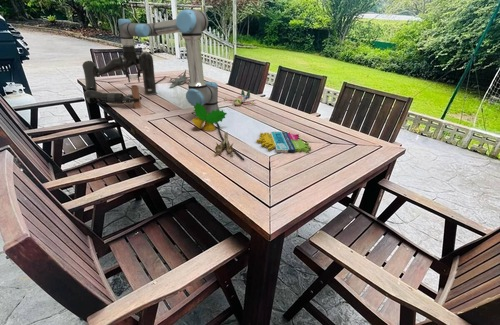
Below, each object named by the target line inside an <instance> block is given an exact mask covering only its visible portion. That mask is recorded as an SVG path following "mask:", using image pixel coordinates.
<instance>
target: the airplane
mask: <svg viewBox="0 0 500 325" xmlns="http://www.w3.org/2000/svg"><path fill="white" fill-rule="evenodd" d="M178 77H179V78H178ZM178 77H169V76H166V77H165V79H169V82H171V81H173V82H172V83H171V84H170V86H169V88H174V87H176V86H178V85H183V84H185V83H188V84H189V83H190V76H187V69H185V70H184V72H183V74H182V75H178Z"/></svg>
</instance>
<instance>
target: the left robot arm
mask: <svg viewBox="0 0 500 325" xmlns="http://www.w3.org/2000/svg"><path fill="white" fill-rule="evenodd" d="M136 54H137V55H139V56H141V65H142V70H143V71H141V73H142V80H143V88H144V89H143V90H144V94H145V95H146V96H155V95H157V86H156V84H158V83H160V82H161V81H163V80H165V79H166V77H167V76H164V77H163V78H161V79H159V80H158V81H156V77H155V66H154V58H153V55H152V54H151V53H150V52H148V51H143V52H140V53H136ZM135 61H136V63H137V65H140V64H139V59H138V58H137V57H136V58H135ZM81 66H82V70H83V74H84V80H85V91H84V93H83V95H84V96H83V97H85V99H86V101H87V103H88V104H89V105H93V106H94V105H95V106H96V105H98V103H99V101H100V103H103V104H115V105H123V104H133V102H139V99H133V97H132V94H126V95H124V93H123V92H102V91H98V85H97V80H96V77H100V76H103V75H106V74H110V73H114V72H118V71H122V67H121V60H120V58H119V57H114V58H112V59H110V60H109V61H108V62H107V63H106V64H105V65H104V66H101V67H98V66H97V65H96V63H95V62H94V61H93V60H86V61H84V62H82V65H81ZM123 66H124V70H125V68H126V59H125V57H123ZM134 66H135V64H134V62H133V61H128V68H127V69H130V68H132V67H134ZM142 98H143V97H142V96H140V101H142V100H143V99H142Z"/></svg>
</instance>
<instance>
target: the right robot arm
mask: <svg viewBox="0 0 500 325" xmlns="http://www.w3.org/2000/svg"><path fill="white" fill-rule="evenodd" d="M117 23H118V29H119V30H118V31H119V35H120V41H121V42H120V43H121V45H122V52H123V53H122V54H121V55H119V56H118V58H120V60H121V67H122V70H121V71H122V72H124V73H125V74H124V75H125V78H127V80H128V83H131V79H130V78H129V75H130V73H129V71H128V69H129V68H128V61H133V62H134V64H135V65H134V66H135V69H136V70H137V71H136V75H138V78H137V81H138V83H140V82H141V81H140V78H141V77H142V76H141V73H142V71H143V70H142V65H141V56H139V55H137V54H138V53H137V52H136V47H135V39H134V37H136V38H137V37H138V38H147V37H158V36H164V35H169V34H170V35H171V34H177V33H181V37H182V39H184V43H185V51H186V60H187V67H188V75H189V76H188V77H190V78H189V79H190V82H189V83H188V84H187V87H188V89H187V91H186V93H185V98H186V101H187V102H188V104H190V106H192V107H194V106H196V102H197V103H198V104H201V106H204V109H206V112H208V113H211V112H212V110H214V111H216V110H217V109H219V111H221V110H220V108H219V102H218V99H219V98H218V97H219V87H218V83H217V82H216V81H215V82H214V81H206V80H205V79H204V67H203V57H202V47H201V46H202V45H201V38H202V37H203V32H205V31H206V30H207V28H208V26H209V18H208V16H207V14H206V13H204V11H202V10H198V9H197V10H196V9H188V8H187V9H182V10H180V11H179V12H178V14H177V16H176V18H175V19H169V20H163V21H157V22H151V23H140V22H139V23H138V22H137V23H136V22H132V21H131V19H130V18H119V19H117ZM123 57H125V59H126V68H125V69H124V66H123ZM136 57H137V58H138V59H139V64H137V63H136V61H135V58H136ZM139 67H140V68H139ZM208 113H207V115H208ZM215 124H216V125H217V130H218V133H219V136H220V138H221V141H222V140H223V141H224V136H223V134H222V133H221V128H220V126H221V125H220V124H219V122H218V123H215ZM233 153H234V154H235V155H237V156H238V157H239V158H240V159H241V160H242V161H245V158H244V157H243V156H242V155H241V154H240V153H239V152H238V151H237V150H235V149H234V148H233Z"/></svg>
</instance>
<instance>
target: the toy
mask: <svg viewBox="0 0 500 325" xmlns="http://www.w3.org/2000/svg"><path fill="white" fill-rule="evenodd" d="M240 92H241V93H240V95H238V96H237V97H235V99H233V98H230V99H228V98H227V97H226V96H225V97H224V98H223V101H224V102H233V103H232V104H233V105H235V106H242V103H243V104H247V105H252V106H255V105H256V104H257V103H256V102H254V101H253V100H252V101H251V102H250V101H248V100H246V99H248V98H250V97H251V90H250V89H249V90H248V91H247V92H246V93H245V91H244V89H242V90H241V91H240Z"/></svg>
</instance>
